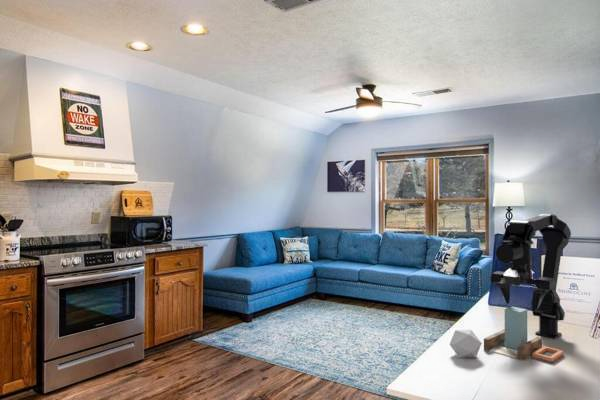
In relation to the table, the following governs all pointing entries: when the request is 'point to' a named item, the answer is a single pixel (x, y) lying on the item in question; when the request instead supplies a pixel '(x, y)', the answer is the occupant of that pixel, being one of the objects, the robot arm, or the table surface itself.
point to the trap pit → (548, 354)
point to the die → (465, 343)
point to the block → (515, 327)
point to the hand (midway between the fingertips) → (522, 306)
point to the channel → (521, 352)
